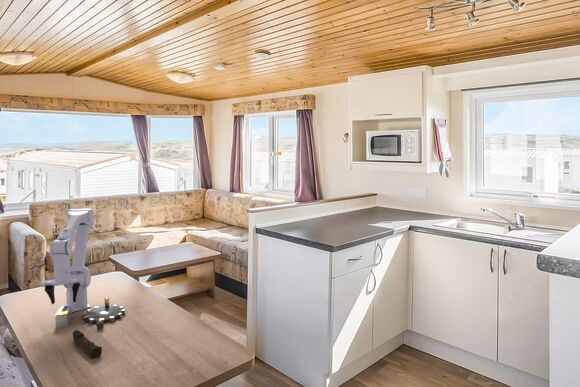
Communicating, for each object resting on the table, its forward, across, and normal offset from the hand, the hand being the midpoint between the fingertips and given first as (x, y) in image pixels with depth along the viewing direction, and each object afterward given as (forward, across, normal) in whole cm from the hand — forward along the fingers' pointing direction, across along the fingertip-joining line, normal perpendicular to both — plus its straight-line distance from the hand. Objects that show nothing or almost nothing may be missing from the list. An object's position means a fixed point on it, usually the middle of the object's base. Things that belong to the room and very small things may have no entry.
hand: (63, 302), depth 164 cm
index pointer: (+8, +14, -9) cm, 19 cm away
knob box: (+9, 0, 0) cm, 9 cm away
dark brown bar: (+9, +11, -26) cm, 30 cm away
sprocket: (+8, +14, +3) cm, 17 cm away
